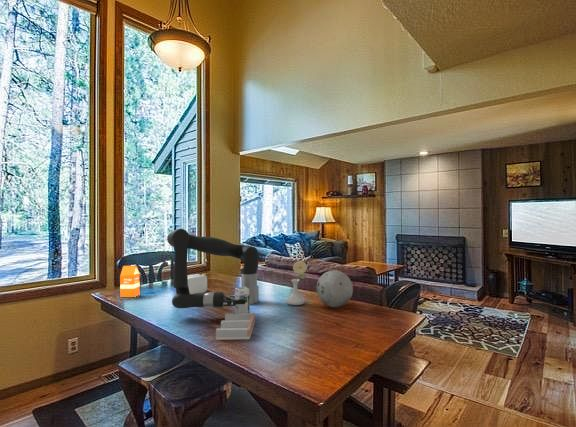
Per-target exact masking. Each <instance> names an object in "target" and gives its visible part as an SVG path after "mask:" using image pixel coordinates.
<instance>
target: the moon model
mask: <svg viewBox="0 0 576 427" xmlns="http://www.w3.org/2000/svg"><path fill="white" fill-rule="evenodd" d="M353 292H354V287H353V283H352V280H351V279H350V277H349V276H348V275H347V274H346V273H344V272H343V271H340V270H336V269H335V270H328V271H326V272H324V273H323V274H321V276H319V278H318V279H317V282H316V294H317V297H318V299H319V300H320V301H321V302H322V303H323V304H324V305H325V306H327V307H330V308H340V307H343V306H344V305H346V304H347V303H348V302H349V301H350V300H351V298H352V296H353Z"/></svg>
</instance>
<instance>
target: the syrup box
mask: <svg viewBox="0 0 576 427" xmlns="http://www.w3.org/2000/svg"><path fill="white" fill-rule="evenodd" d="M234 294H235V299H237V300H238V299H245V304H238V305H236V306H234V307H235V310H234V311H235V313H251V312H250V304H249V288H248V287H246V286H245V287H241V286H240V287H235V288H234Z"/></svg>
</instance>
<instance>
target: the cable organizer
mask: <svg viewBox="0 0 576 427" xmlns="http://www.w3.org/2000/svg"><path fill="white" fill-rule="evenodd" d="M187 275H188V274H187ZM188 287H189V292H190V294H195V293H207V291H208V277H207V276H206V275H201V274H198V273H195V274H189V275H188Z"/></svg>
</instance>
